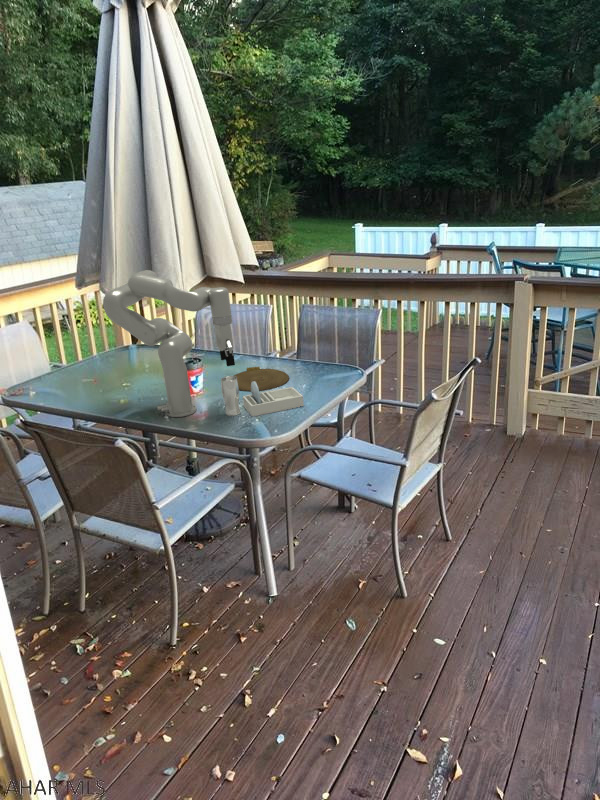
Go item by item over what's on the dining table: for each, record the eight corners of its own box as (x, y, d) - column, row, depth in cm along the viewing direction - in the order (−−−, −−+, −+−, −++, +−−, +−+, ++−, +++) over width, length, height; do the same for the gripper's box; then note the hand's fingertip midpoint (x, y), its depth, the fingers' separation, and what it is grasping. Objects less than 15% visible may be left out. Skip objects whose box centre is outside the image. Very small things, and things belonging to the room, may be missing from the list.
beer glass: (222, 416, 251) (218, 381, 246) (226, 410, 257) (222, 376, 252) (239, 416, 250) (235, 381, 245) (243, 410, 256) (239, 375, 251)
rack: (252, 416, 249) (249, 388, 245) (243, 406, 260) (240, 379, 256) (303, 406, 255) (301, 378, 251) (293, 396, 267) (291, 370, 263)
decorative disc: (237, 392, 273) (220, 371, 299) (238, 399, 274) (220, 378, 300) (298, 380, 282) (276, 361, 308) (298, 387, 283) (276, 367, 309)
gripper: (208, 317, 247) (213, 358, 253) (217, 326, 231) (223, 369, 237) (226, 314, 249) (231, 355, 255) (237, 322, 233) (242, 366, 239)
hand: (227, 362), depth 246 cm, fingers open, 9 cm apart
